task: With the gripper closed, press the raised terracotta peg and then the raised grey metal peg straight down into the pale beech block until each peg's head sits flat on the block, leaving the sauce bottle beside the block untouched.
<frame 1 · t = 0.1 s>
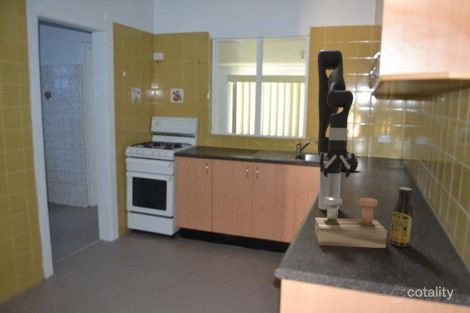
hand: (336, 177, 156), 17 cm above the countertop, tool pointing down, fingers open, 8 cm apart
grey peg: (332, 209, 130), point 11 cm above the countertop, slide at 7.0 cm
squash: (346, 171, 274), on the countertop
terracotta peg: (367, 210, 130), point 11 cm above the countertop, slide at 7.0 cm
sauce bottle: (399, 245, 128), on the countertop
beech block: (348, 240, 131), on the countertop
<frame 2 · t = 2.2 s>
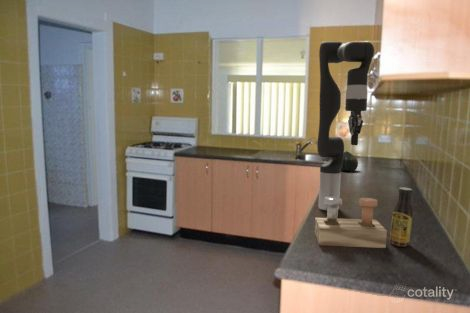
hand: (354, 144, 138), 33 cm above the countertop, tool pointing down, fingers closed
nothing on the countertop moved.
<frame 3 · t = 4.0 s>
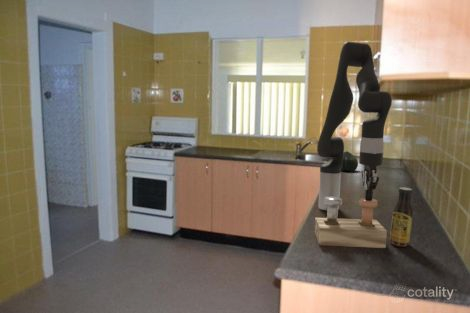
hand: (368, 200, 129), 15 cm above the countertop, tool pointing down, fingers closed
terracotta peg: (367, 211, 130), point 11 cm above the countertop, slide at 6.9 cm, touching gripper
everything else where it was.
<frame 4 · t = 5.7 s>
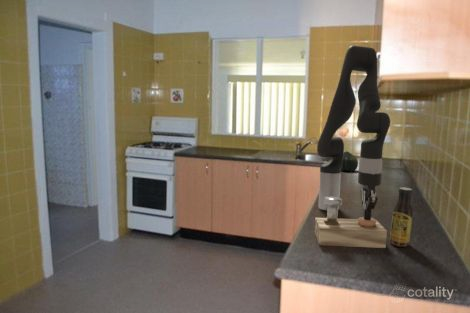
hand: (367, 219, 130), 8 cm above the countertop, tool pointing down, fingers closed
terracotta peg: (366, 230, 130), point 4 cm above the countertop, slide at 0.0 cm, touching gripper
everything else where it was.
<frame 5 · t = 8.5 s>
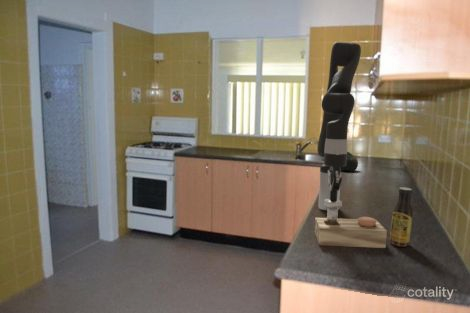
hand: (333, 200, 130), 14 cm above the countertop, tool pointing down, fingers closed
grey peg: (332, 211, 131), point 10 cm above the countertop, slide at 6.2 cm, touching gripper
terracotta peg: (366, 230, 130), point 4 cm above the countertop, slide at 0.0 cm
everything else where it was.
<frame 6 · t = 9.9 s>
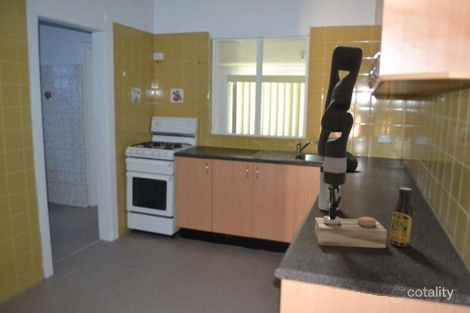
hand: (332, 218, 131), 8 cm above the countertop, tool pointing down, fingers closed
grey peg: (331, 228, 131), point 4 cm above the countertop, slide at 0.0 cm, touching gripper
everything else where it was.
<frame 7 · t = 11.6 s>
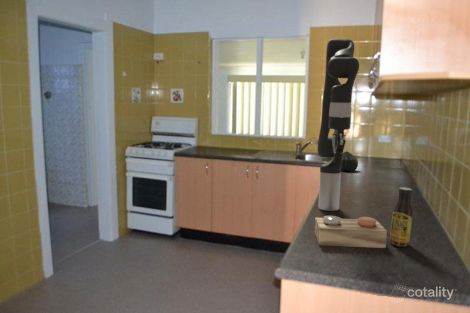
hand: (336, 163, 134), 26 cm above the countertop, tool pointing down, fingers closed
grey peg: (331, 228, 131), point 4 cm above the countertop, slide at 0.0 cm
everything else where it was.
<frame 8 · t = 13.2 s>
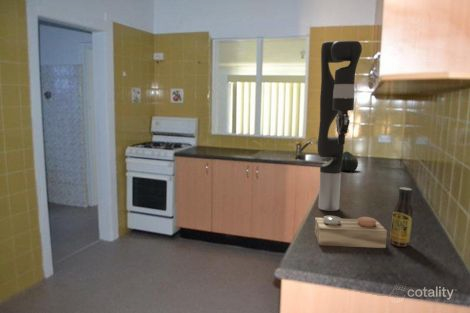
hand: (341, 144, 138), 33 cm above the countertop, tool pointing down, fingers closed
nothing on the countertop moved.
at the end: terracotta peg slide at 0.0 cm; grey peg slide at 0.0 cm; sauce bottle moved 0.2 cm from its start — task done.
